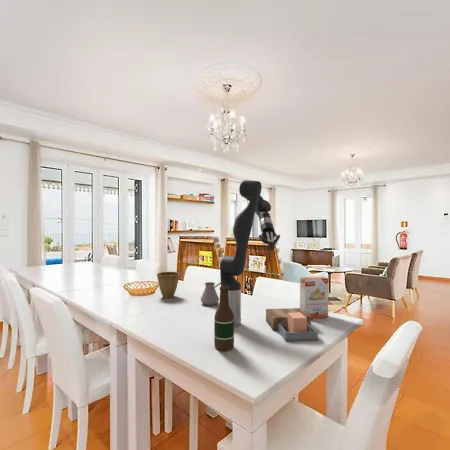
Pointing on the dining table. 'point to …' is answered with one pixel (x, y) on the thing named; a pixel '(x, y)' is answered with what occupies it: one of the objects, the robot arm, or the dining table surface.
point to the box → (297, 333)
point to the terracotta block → (297, 322)
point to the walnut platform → (282, 316)
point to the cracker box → (314, 296)
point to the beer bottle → (224, 323)
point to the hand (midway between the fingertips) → (272, 248)
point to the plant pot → (168, 283)
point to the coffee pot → (210, 294)
